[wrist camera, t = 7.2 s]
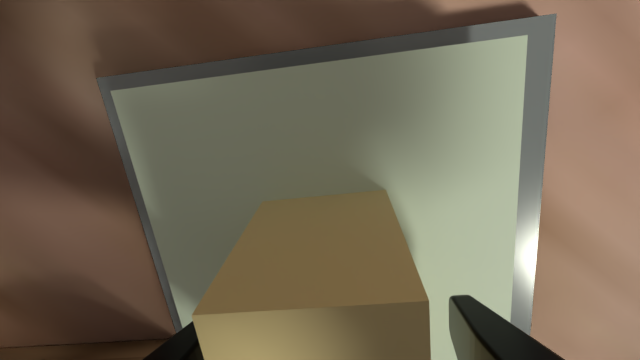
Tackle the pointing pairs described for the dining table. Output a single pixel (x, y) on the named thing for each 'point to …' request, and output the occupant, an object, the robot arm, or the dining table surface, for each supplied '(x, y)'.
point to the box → (84, 351)
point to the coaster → (536, 59)
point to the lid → (335, 199)
